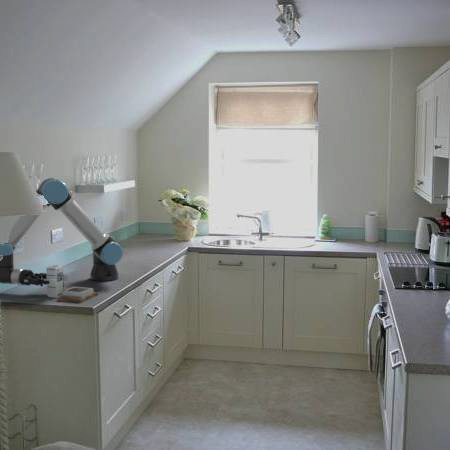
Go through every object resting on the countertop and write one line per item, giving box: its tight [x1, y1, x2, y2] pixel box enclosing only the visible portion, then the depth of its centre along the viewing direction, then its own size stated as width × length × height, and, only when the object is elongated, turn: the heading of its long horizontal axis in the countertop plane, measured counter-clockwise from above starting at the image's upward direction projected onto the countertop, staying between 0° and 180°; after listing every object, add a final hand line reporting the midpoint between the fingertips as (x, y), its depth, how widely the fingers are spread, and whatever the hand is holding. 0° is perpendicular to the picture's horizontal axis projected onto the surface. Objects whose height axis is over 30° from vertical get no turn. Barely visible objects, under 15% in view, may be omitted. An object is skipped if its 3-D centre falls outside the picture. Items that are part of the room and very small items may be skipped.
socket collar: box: [62, 286, 94, 298], centre depth 300 cm, size 10×10×2 cm
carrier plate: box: [56, 291, 98, 304], centre depth 300 cm, size 16×12×2 cm
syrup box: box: [45, 264, 65, 299], centre depth 303 cm, size 6×6×14 cm
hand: (62, 280), depth 302 cm, fingers open, 11 cm apart
